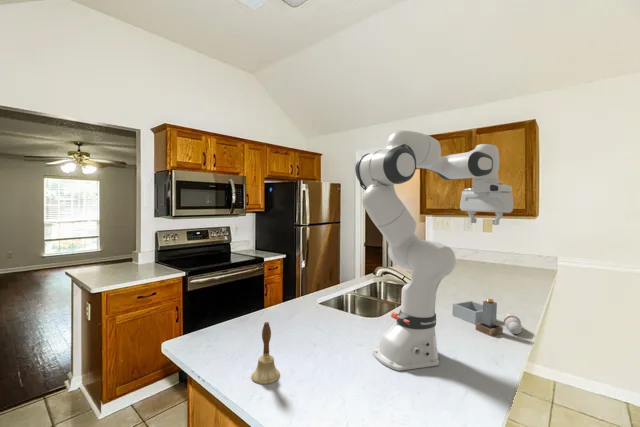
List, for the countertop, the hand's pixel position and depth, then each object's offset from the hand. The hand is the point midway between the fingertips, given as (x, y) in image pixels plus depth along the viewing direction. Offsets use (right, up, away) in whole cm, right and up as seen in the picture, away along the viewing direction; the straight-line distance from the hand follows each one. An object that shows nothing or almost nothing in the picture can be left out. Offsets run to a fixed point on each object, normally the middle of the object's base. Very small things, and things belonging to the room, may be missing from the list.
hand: (484, 223), depth 120 cm
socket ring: (+5, -44, +6) cm, 45 cm away
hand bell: (-79, -44, -28) cm, 95 cm away
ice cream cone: (+16, -44, +9) cm, 48 cm away
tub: (+6, -43, +21) cm, 48 cm away
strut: (+5, -44, +6) cm, 45 cm away
